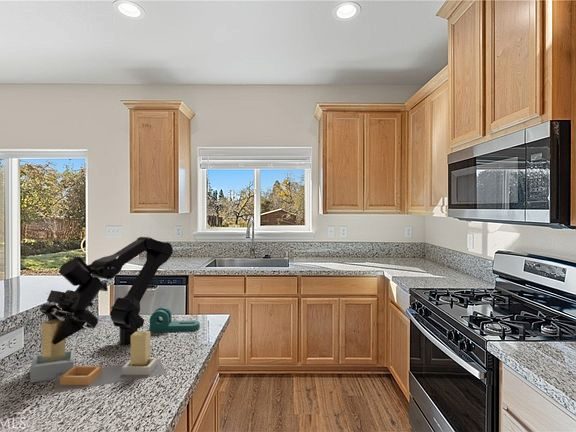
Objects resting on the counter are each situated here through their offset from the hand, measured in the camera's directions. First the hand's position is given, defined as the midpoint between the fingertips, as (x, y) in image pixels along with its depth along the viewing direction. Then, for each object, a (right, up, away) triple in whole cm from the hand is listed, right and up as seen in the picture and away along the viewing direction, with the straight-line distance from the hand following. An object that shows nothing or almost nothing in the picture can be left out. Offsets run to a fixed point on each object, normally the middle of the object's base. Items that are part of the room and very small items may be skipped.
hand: (48, 342), depth 111 cm
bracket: (+23, -9, +44) cm, 50 cm away
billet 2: (+25, -8, 0) cm, 26 cm away
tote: (+1, -9, +1) cm, 9 cm away
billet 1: (+1, -5, +1) cm, 5 cm away
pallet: (+18, -9, -3) cm, 20 cm away
